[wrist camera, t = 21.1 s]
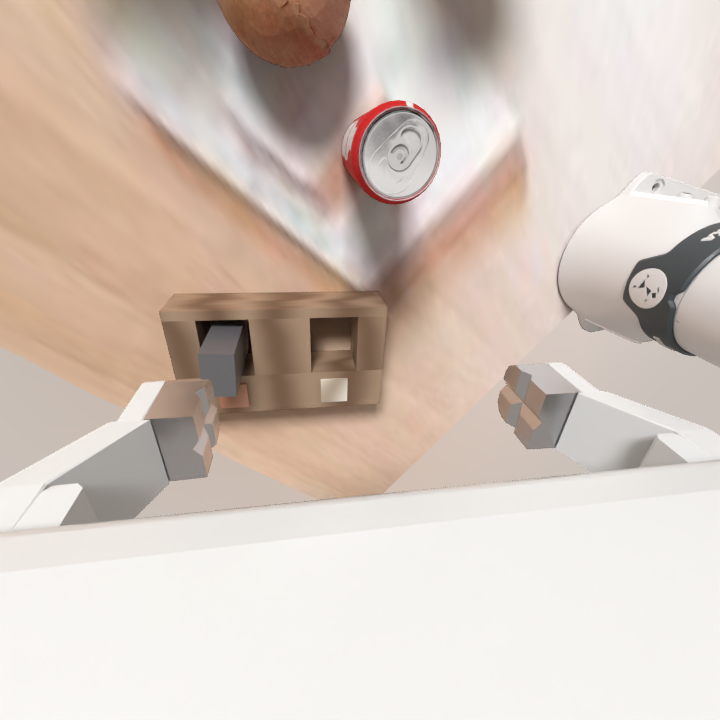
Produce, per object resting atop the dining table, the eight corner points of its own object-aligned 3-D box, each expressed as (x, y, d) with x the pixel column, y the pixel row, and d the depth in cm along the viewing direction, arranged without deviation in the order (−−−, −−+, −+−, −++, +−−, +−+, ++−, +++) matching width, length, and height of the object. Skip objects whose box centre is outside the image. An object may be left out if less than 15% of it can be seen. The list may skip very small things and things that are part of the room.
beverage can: (411, 154, 35) (477, 155, 22) (360, 202, 37) (395, 229, 24) (373, 96, 32) (424, 59, 20) (320, 150, 34) (335, 148, 21)
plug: (247, 311, 40) (233, 354, 32) (248, 347, 43) (236, 396, 34) (218, 310, 40) (197, 353, 31) (221, 347, 42) (202, 396, 33)
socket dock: (378, 291, 42) (388, 308, 37) (372, 381, 48) (380, 405, 43) (174, 294, 38) (157, 313, 34) (195, 390, 44) (184, 417, 40)
